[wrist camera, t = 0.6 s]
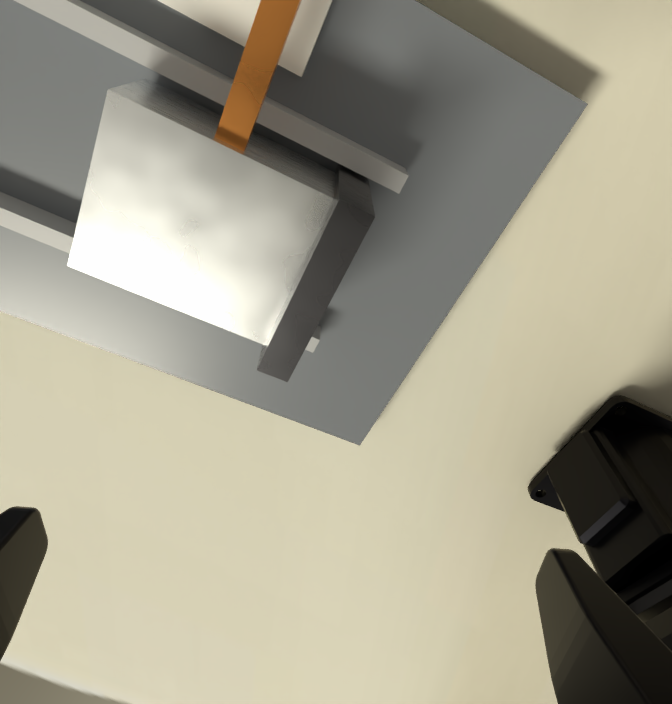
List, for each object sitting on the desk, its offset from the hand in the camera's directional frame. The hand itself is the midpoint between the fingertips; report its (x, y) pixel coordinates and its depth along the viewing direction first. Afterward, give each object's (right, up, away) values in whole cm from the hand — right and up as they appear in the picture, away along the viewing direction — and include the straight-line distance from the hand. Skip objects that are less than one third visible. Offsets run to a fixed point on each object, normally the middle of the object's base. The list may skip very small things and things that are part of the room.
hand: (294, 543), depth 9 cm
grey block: (-2, +10, +7) cm, 12 cm away
